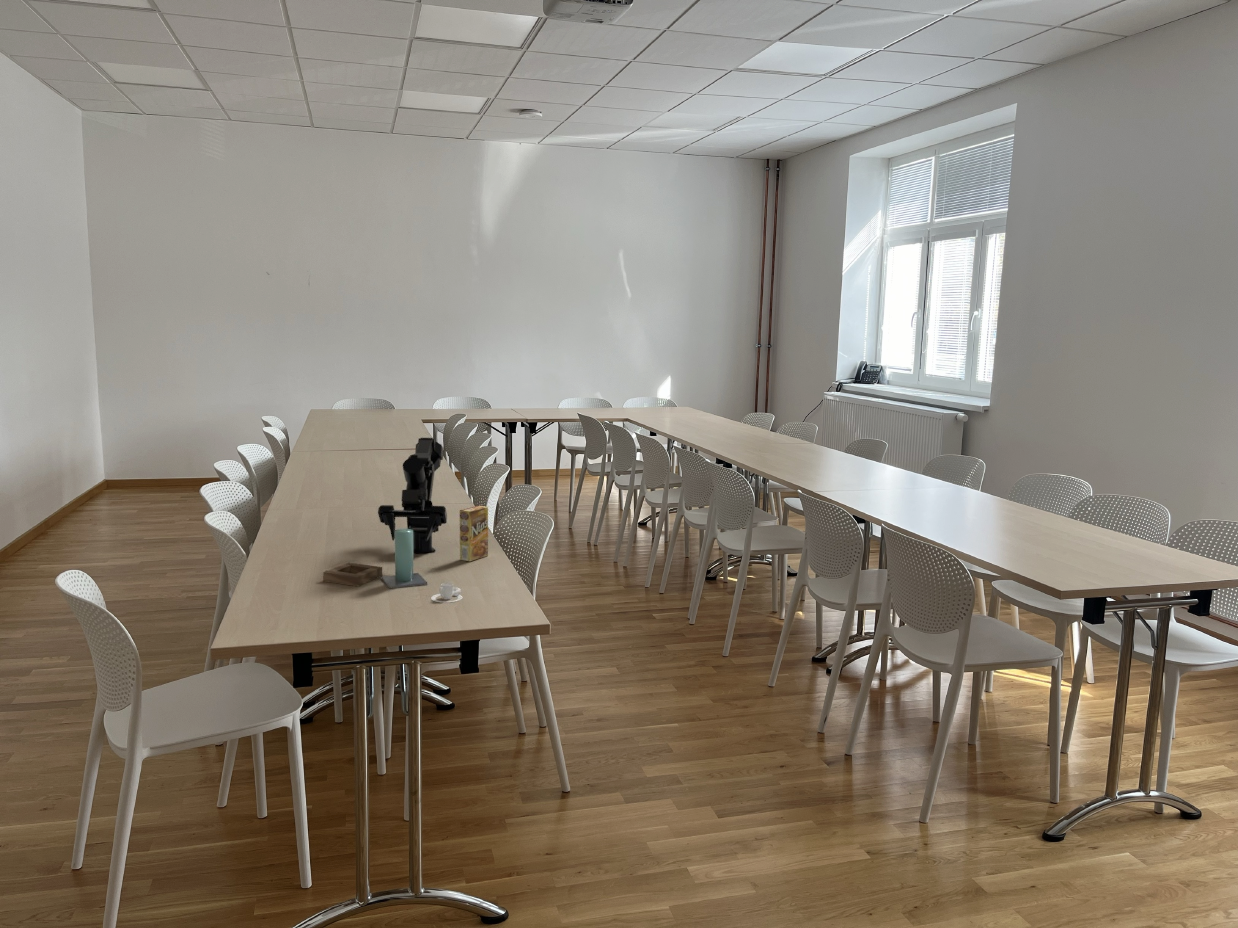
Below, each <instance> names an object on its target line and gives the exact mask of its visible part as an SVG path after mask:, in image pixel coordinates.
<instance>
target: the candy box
mask: <svg viewBox="0 0 1238 928" xmlns="http://www.w3.org/2000/svg"><path fill="white" fill-rule="evenodd" d="M488 556H489V507H488V506H483V505H476V506H471V507H469V508H468V507H467V508H464V509H460V510H459V560H460V561H467V562H472V561H475V560H479V559H481V558H486V557H488Z"/></svg>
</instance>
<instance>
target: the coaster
mask: <svg viewBox="0 0 1238 928" xmlns="http://www.w3.org/2000/svg"><path fill="white" fill-rule="evenodd" d="M381 580H382V581H383V582H384V583H385V585H386V586H387V587H388V588H389V589H390V590H391V589H398V588H399V589H400V588H407V587H409V588H410V587H417V586H426V585H428V581H427V580H426V579H424V577H423V576H422V575H421V574H420V573H419V572H415V573H414V572H413V580H412V581H408V582H398V581H396V580H395V574H394V575H384V576H383V575H382V576H381Z"/></svg>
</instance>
